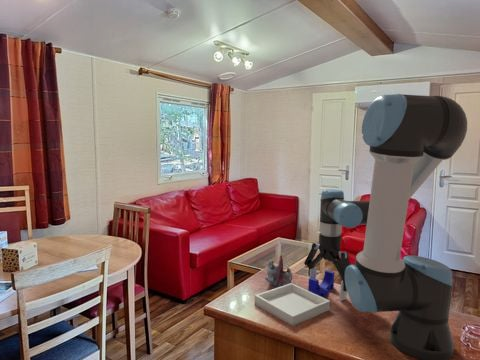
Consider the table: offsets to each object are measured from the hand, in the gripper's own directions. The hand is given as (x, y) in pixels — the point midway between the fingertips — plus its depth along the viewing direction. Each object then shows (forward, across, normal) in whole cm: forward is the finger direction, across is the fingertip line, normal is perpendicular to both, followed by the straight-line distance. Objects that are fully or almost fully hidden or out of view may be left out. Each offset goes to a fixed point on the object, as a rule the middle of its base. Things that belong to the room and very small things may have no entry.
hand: (327, 292), depth 125 cm
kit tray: (0, 0, +18) cm, 18 cm away
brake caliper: (0, +16, +8) cm, 18 cm away
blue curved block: (+1, +1, +1) cm, 2 cm away
